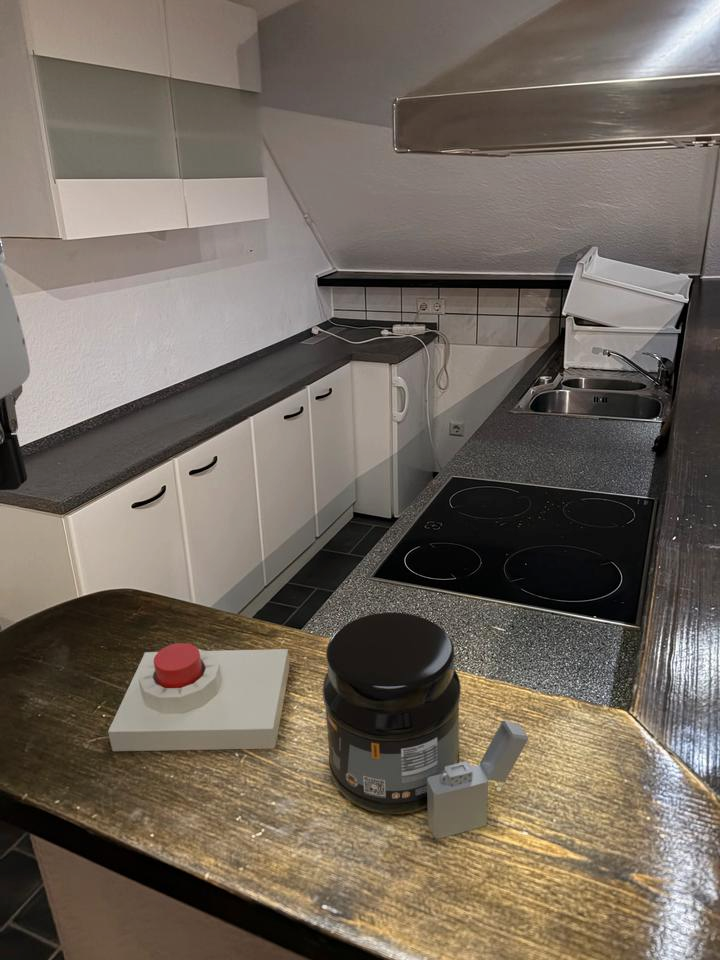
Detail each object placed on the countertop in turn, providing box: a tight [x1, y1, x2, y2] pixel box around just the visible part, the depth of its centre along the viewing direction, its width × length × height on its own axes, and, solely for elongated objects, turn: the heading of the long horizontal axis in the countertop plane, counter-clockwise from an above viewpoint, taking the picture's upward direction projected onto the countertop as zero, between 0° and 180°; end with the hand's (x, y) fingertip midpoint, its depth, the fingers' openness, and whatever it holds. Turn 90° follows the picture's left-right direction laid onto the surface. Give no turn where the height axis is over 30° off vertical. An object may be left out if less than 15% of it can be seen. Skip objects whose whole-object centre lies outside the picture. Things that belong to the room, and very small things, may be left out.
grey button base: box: [107, 648, 291, 752], centre depth 69 cm, size 14×11×4 cm
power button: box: [154, 642, 202, 688], centre depth 68 cm, size 4×4×2 cm
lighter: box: [426, 720, 529, 840], centre depth 55 cm, size 7×2×8 cm, turn 105°
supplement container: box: [322, 612, 462, 815], centre depth 59 cm, size 10×10×12 cm
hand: (4, 485), depth 60 cm, fingers closed
